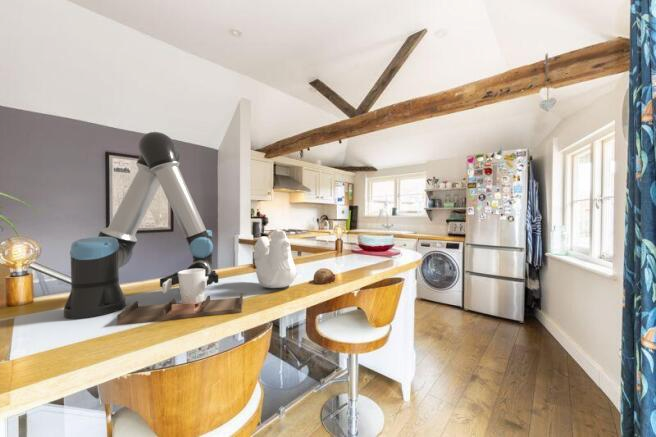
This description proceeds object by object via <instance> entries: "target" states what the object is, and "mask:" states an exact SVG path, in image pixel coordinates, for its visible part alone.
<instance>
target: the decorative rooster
mask: <svg viewBox="0 0 656 437" xmlns="http://www.w3.org/2000/svg"><path fill="white" fill-rule="evenodd" d="M269 236H270V237H269V238H270V241H269V238H268V236H260V237H259V238H258V239H257V241H256V243H254V248H253V249H254V251H253V254H252V255H253V259H254V265H255V268H256V269H255V273H256V276H257V278H256V279H257V280H258V283H259V284H260V286H261V287H262V288H267V289H278V288H279V289H280V288H286V287H288V286H290V285H292V284H293V282H294V281H295V279H296V278H297V276H298V271H297V268H296V265H295V262H294V259H293V256H292V248H291V242H290V239H289V237H287V234H286V232H285V230H281V229H279V228H277V229H275V230H273V231H271V232H270V234H269Z"/></svg>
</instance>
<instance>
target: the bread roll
mask: <svg viewBox="0 0 656 437" xmlns="http://www.w3.org/2000/svg"><path fill="white" fill-rule="evenodd" d="M335 276H336V274H334V272H333V271H332V270H331V269H330V268H325V267H320V268H318V269H317V270H316V271H315V272H314V274H313V281H312V282H313V283H315V284H317V283H319V284H318V285H328V284H327V283H329V284H332V283H331V282H333V283H335V281H336V277H335Z"/></svg>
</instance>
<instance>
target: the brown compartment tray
mask: <svg viewBox="0 0 656 437" xmlns="http://www.w3.org/2000/svg"><path fill="white" fill-rule="evenodd" d="M243 301H244V293H243V292H240V293H239V297H232V298H219V299H211V295H207V296H206V297H205V300H204V301H203V302H200V303H197V304H195V303H185V304H182V303H181V302H176V298H172V299H171V300H170V301H168V303H163V304H162V303H161V304H149V305H140V306H139V301H135V302H133V303H132V304H129V306H127V307H126V308H125V309H124V310H122V311H121V312H120V313H118V314H117V318H116V320H117V321H116V322H117V326H119V325H131V324H138V323H139V324H141V323H149V322H158V321H159V322H160V321H168V320H171V321H172V320H179V319H190V318H200V317H208V316H217V315H218V316H219V315H228V314H238V313H242V311H243V303H244V302H243Z"/></svg>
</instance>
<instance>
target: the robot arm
mask: <svg viewBox="0 0 656 437" xmlns="http://www.w3.org/2000/svg"><path fill="white" fill-rule="evenodd" d="M138 151H139V153H140V155H139V157H138V159H137V161H136V164H135V165H136V167H137V169H138V170H137V171H136V173H135V175H134V177H133V179H132V181H131V184H130V185H129V187H128V189H127V190H126V192H125V195H124V196H123V198H122V200H121V202H120V204H119V206H118V208H117V210H116V212H115V214H114V215H113V217H112V219H111V222H110V223H109V225H108V227H106V228H103V229H101V230H100V231H99V233H98V235H97V236H90V237H87V238H81V239H77V240H75V241H73V242H71V245H70V252H69V255H70V279H71V280H70V283H71V284H70V285H71V287H70V288H71V290H70V293H69V295H68V297H67V300H66V302H65V305H64V307H63V317H64V318H65V319H86V318H93V317H99V316H103V315H107V314H110V313H114V312H116V311H119V310H121V309H123V308H125V307H126V305H127V304H126V301H127V300H126V297H125V294H124V292H123V290H122V287H121V285H120V276H119V275H120V272H119V271H120V270H119V269H120V268H122V267H124V266H125V265H127V264H128V263H129V261H131V259H132V256H133V253H134V249H135V246H136V244H137V242H138V239H137V237H136V235H137V232H138V229H139V228H140V225H141V224H142V223H143V220H144V218H145V217H146V214H147V212H148V210H149V208H150V206H151V204H152V202H153V200H154V198H155V195H156V194H157V192H158V190H159V189H160V186H161V189H162V190H163V193H164V195H165V197H166V199H167V201H168V203H169V206H170V207H171V210H172V212H173V214H174V216H175V218H176V220H177V222H178V225H179V226H180V229H181V232H182V233H183V235H184V237H185V240H186V243H187V244H188V247H189V251H190V253H191V254H192V264H191V265H190V266H189V267H187V269H186V270H188V269H197V268H202V269H205V278H204V280H203V281H202V289H203V290H205V291H206V289H207V288H208V286H210V285H212V284H213V283H215V284H218V283H219V274H218V273H217V272H216V270H214V268H215V264H214V261H213V251H214V250H213V249H214V244H213V232H212V230H211V229H206V226H205V224H204V222H203V219H202V217H201V215H200V213H199V211H198V208H197V206H196V204H195V201H194V200H193V197H192V195H191V193H190V190H189V188H188V186H187V184H186V182H185V179H184V177H183V174H182V172H181V170H180V168H179V166H180V151H179V150H178V148H177V146H176V145H175V143H174V140H173V139H172V138H171V137H170V136H168V135H166V134H165V133H163V132H159V131H151V132H147V133H146V134H144V135H143V136H141V138H140V139H139V142H138ZM175 285H179V278H178V271H177V272H174V273H172V274H170V275H166V276H164V277H161V278H160V279H159V287H161V288H162V294H163V293H164V294H165V293H167V292H168V291H169V290H170V289H171V288H172V287H173V286H175Z"/></svg>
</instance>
